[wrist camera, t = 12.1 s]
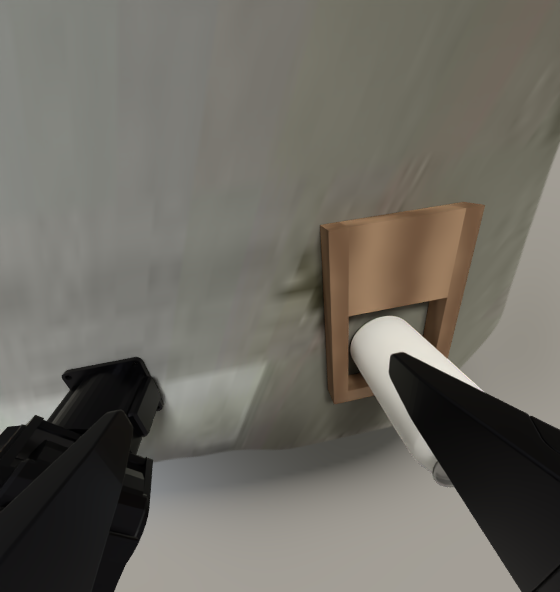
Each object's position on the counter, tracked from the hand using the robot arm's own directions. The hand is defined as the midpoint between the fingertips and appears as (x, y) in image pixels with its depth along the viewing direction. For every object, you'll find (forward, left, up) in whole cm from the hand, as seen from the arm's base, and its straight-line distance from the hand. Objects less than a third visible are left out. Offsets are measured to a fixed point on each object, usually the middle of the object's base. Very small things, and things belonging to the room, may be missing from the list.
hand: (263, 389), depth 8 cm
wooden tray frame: (+12, -7, -13) cm, 19 cm away
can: (+11, -11, -13) cm, 20 cm away
